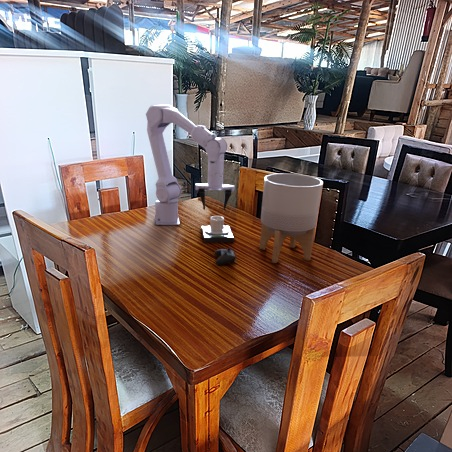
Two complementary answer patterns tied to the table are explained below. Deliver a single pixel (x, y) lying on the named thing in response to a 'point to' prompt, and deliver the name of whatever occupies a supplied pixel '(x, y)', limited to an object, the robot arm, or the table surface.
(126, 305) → the table surface
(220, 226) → the small grey cup
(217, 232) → the scale
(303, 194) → the planter
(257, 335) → the table surface
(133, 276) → the table surface
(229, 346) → the table surface
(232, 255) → the gaming controller
